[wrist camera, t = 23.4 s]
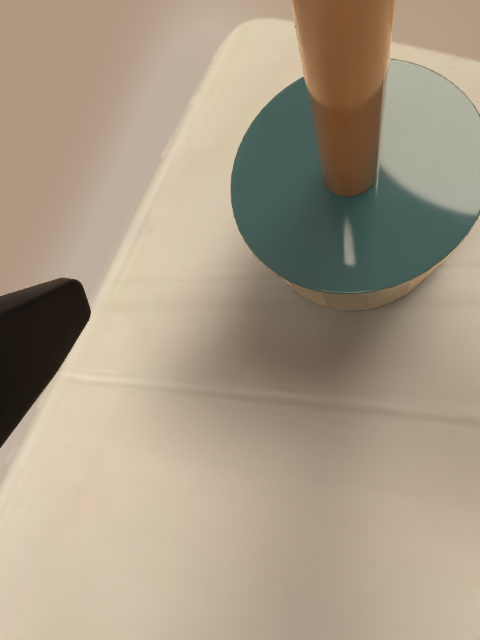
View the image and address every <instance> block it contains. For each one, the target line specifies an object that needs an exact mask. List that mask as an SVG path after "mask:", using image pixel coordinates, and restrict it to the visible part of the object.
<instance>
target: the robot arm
mask: <svg viewBox="0 0 480 640" xmlns="http://www.w3.org/2000/svg"><path fill="white" fill-rule="evenodd" d="M90 315H91V309H90V306H89V303H88V300H87V297H86V294H85V291H84V288H83V286H82V284H81V283H80V282H79V281H78V280H75V279H70V278H58V279H55V280H52V281H49V282H45V283H42V284H39V285H36V286H32V287H29V288H26V289H23V290H19V291H16V292H13V293H9V294H6V295H3V296H0V448H1V447H2V445H3V444H4V443H5V441H6V440H7V439H8V437H9V436H10V435H11V433H12V432H13V431H14V429H15V428H16V427H17V425H18V424H19V423H20V421H21V420H22V418H23V417H24V416H25V414H26V413H27V412H28V410H29V409H30V408H31V406H32V405H33V404H34V402H35V401H36V400H37V398H38V397H39V396H40V394H41V393H42V392H43V390H44V389H45V388H46V386H47V385H48V384H49V382H50V381H51V380H52V378H53V377H54V376H55V374H56V373H57V371H58V370H59V368H60V367H61V365H62V364H63V362H64V360H65V359H66V357H67V355H68V354H69V352H70V350H71V349H72V347H73V346H74V344H75V342H76V341H77V339H78V337H79V336H80V334H81V332H82V331H83V329H84V327H85V326H86V324H87V322H88V321H89V319H90Z"/></svg>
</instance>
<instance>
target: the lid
mask: <svg viewBox="0 0 480 640" xmlns="http://www.w3.org/2000/svg"><path fill="white" fill-rule="evenodd" d="M394 5H395V0H291V6H292V12H293V17H294V23H295V29H296V34H297V40H298V45H299V51H300V57H301V62H302V68H303V74H304V77H302V78H300V79H298V80H297V81H295V82H294V83H292V84H291V85H289V86H288V87H286V88H285V89H284V90H282V91H281V92H280V93H279V94H278V95H276V96H275V97H274V98H273V99H272V100H271V101H270V102H269V103H268V104H267V105H266V106H265V107H264V108H263V109H262V110H261V112H260V113H259V114H258V115H257V117H256V118H255V119H254V121H253V122H252V124H251V125H250V127H249V129H248V130H247V132H246V133H245V135H244V137H243V140H242V142H241V144H240V146H239V149H238V152H237V155H236V158H235V161H234V165H233V170H232V176H231V203H232V208H233V213H234V218H235V220H236V223H237V226H238V229H239V231H240V233H241V235H242V237H243V239H244V241H245V243H246V244H247V245H248V247H249V248H250V249H251V251H252V252H253V254H254V255H255V256H256V257H257V259H258V260H259V261H260V262H261V263H262V264H263V265H264V266H265V267H266V268H267V269H269V270H270V271H271V272H272V273H274V274H275V275H276V276H278V277H279V278H281V279H283V280H284V281H286V282H288V283H290V284H291V285H294V286H296V287H299V288H301V289H303V290H306V291H310V292H313V293H317V294H321V295H328V296H336V297H359V296H367V295H375V294H379V293H383V292H387V291H391V290H393V289H396V288H399V287H401V286H404V285H406V284H409V283H411V282H413V281H414V280H416V279H418V278H420V277H422V276H424V275H425V274H427V273H428V272H430V271H431V270H433V269H434V268H435V267H437V266H438V265H440V264H441V263H442V262H443V261H444V260H445V259H446V258H447V257H448V256H450V255H451V254H452V253H453V252H454V251H455V249H456V248H457V247H458V246H459V245H460V244H461V242H462V241H463V240H464V239H465V237H466V236H467V235H468V233H469V232H470V230H471V228H472V227H473V225H474V224H475V222H476V221H477V219H478V217H479V215H480V115H479V113H478V111H477V109H476V108H475V106H474V105H473V103H472V102H471V101H470V100H469V98H468V97H467V96H466V95H465V94H464V93H463V92H462V91H461V90H460V89H459V88H458V87H457V86H456V85H454V84H453V83H452V82H451V81H449V80H448V79H446V78H445V77H443V76H442V75H440V74H438V73H436V72H434V71H432V70H430V69H428V68H426V67H423V66H420V65H417V64H414V63H411V62H407V61H401V60H396V59H389V58H390V48H391V37H392V26H393V15H394Z"/></svg>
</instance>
